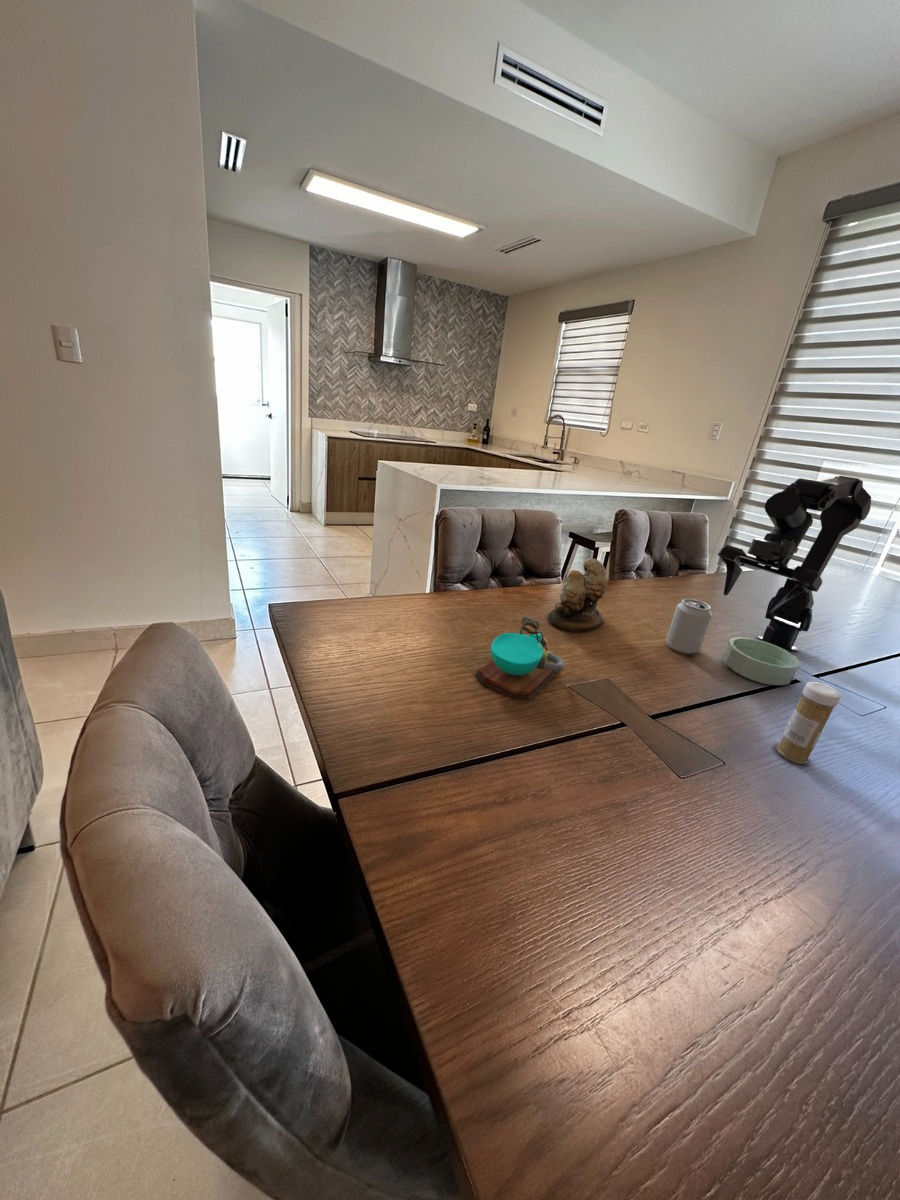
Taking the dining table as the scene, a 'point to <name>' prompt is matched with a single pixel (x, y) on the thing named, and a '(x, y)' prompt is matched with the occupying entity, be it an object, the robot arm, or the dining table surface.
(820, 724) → the sprinkles bottle
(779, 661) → the basin
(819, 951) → the dining table surface
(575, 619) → the owl figurine
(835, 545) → the robot arm
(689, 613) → the can
